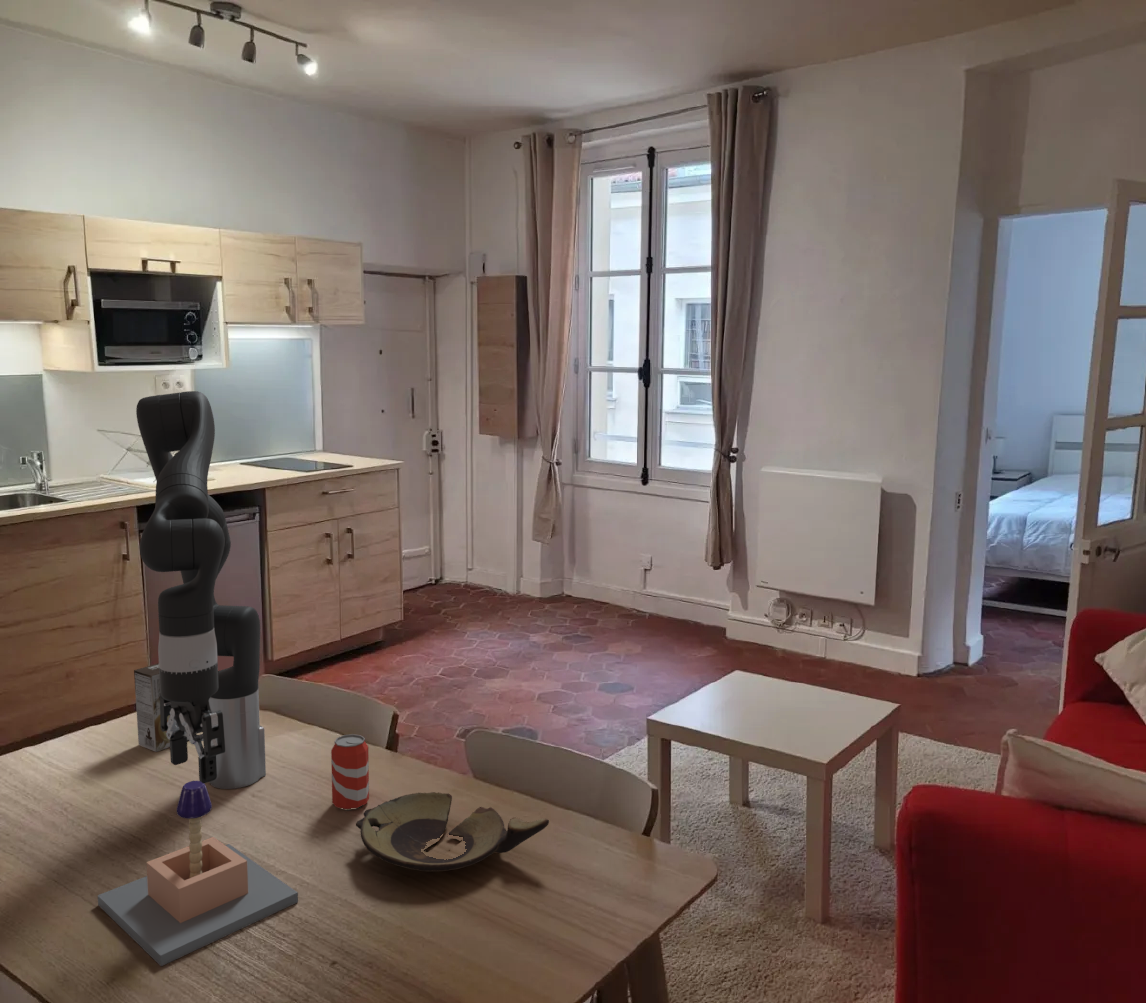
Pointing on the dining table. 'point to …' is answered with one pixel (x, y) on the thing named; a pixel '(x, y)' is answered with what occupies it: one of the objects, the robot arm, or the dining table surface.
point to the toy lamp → (194, 819)
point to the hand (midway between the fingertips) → (193, 771)
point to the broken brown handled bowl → (437, 832)
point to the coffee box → (149, 709)
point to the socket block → (195, 900)
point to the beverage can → (350, 772)
